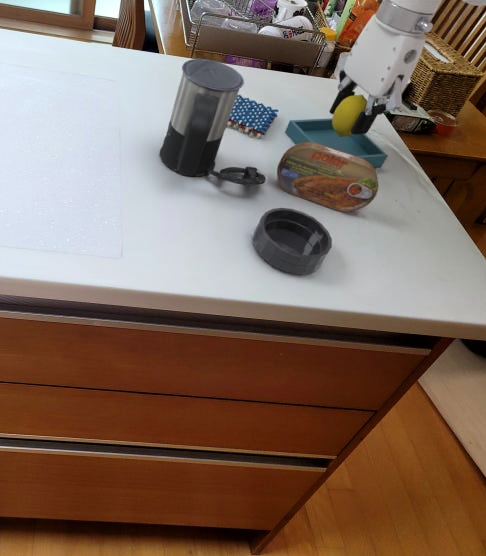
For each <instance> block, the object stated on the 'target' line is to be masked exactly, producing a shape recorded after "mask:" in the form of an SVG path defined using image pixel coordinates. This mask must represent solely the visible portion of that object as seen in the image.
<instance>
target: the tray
mask: <svg viewBox="0 0 486 556" xmlns="http://www.w3.org/2000/svg"><path fill="white" fill-rule="evenodd" d="M332 118H333V117H331V118H329V117H328V118H310V119H291V120H289V121H288V124H287V126H286V128H285V131H284V133H285V134H286V136H287V137H288V138H289V139H290V140H291V141H292V142H293V143H294V145H296V144H299V143H304V142H312V143H316V144H319V145H322V146H325V147H328V148H331V149H334V150H337V151H340V152H343V153H347V154H349V155H353V156H356V157H359V158H361V159H364V160H366V161H367V162H369V163H370V164H371V165H372V166H373V167H374V169H376V168H382V166H383V165H384V163H385V161H386V160H388V157H389V154H387V153H386V151H385V150H383V149H382V148H381V147H380V146H379V145H378V144H377V143H376V142H374V141H373V139H371V138H370V137H369V135H367V133H366V134H356V135H352V136H344V137H339V136H338V133H337V132H336V131H335V130H334V128H333V125H332Z"/></svg>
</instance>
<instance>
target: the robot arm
mask: <svg viewBox="0 0 486 556" xmlns="http://www.w3.org/2000/svg"><path fill="white" fill-rule="evenodd" d="M461 1H462V2H464V3H466V4H468V5H472V6H477V7H480V6H481V7H485V6H486V0H461ZM442 2H443V0H382V1H381V2H380V5H379V7H378V9H377V11H376V13H374V14H372V16H371V17H370V18H369V20H368V21H367V23H366V24H365V26H364V28H363V29H362V30H361V32H360V34H359V35H358V37H357V38H356V41H355V42H354V44H353V46H352V48H351V49H350V52H349V53H348V54H347V55H345V56H343V57H341V58H340V59H339V60H338V70H339V74H338V78H339V83H338V85H337V91H338V93H337V95H336V97H335V99H334V100H333V103H332V104H331V106H330V109H329V114H331V115H333V114H334V112H335V110H336V108H337V107H338V105H339V104H340V103H341V102H342V101H343V100H344V99H345V98H347V97H349V96H352V95H356V92H355V90H356V88H357V87H360V89H362V90H363V91H365V92H366V93H367V94H368V97H367V105H366V109H365V112H361V113H360V115H359V116H358V118H357V120H356V122H355V124H354V126H353V128H352V129H351V133H352V134H353V135H356V134H366V135H367V133H368V132H369V130H371V127H372V126H373V124H374V122H375V120H376V119H377V117H378V116H381V115H383V114H385V113H388V112H391V111H395V110H399V109H401V108H402V106H403V99H402V95H403V94H402V93H403V92H404V90H405V88H406V86H407V85H408V83H409V81H410V79H411V78H412V75H413V73H414V71H415V69H416V67H417V64H418V63H419V60H420V58H421V55H422V53H423V50H424V47H425V43H426V41H427V36H425V35H424V34H425V33H426V34H428V33H430V32H431V31H432V29H433V28H434V24H433V23H432V20H433V18H434V16H435V15H436V12H437V11H438V9H439V7H440V5H441V4H442ZM388 97H389V99H388ZM387 99H388V101H387ZM376 102H377V103H376Z"/></svg>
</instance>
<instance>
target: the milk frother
mask: <svg viewBox="0 0 486 556" xmlns="http://www.w3.org/2000/svg"><path fill="white" fill-rule="evenodd" d="M181 71H182V75H181V78H180V82H179V85H178V88H177V93H176V95H175V99H174V103H173V108H172V111H171V116H170V119H169V122H168V126H167V131H166V134H165V137H164V138H163V139H164V140H163V142H162V145H161V148H160V150H159V158H160V160H161V161H162V163H163V164H164V165H165V166H167V168H169V169H171V170H172V171H174V172H177V173H179V174H181V175H185V176H189V177H200V176H205V175H208V174H210V175H212V176H214V177H216V178H219V179H221V180H224V181H226V182H230V183H233V184H238V185H243V186H262V185H264V184H265V183H266V180H267V177H266V176H265V175H264V174H262V173H260V172H259V171H258V168H257V167H255V166H245V167H239V166H237V167H236V166H229V167H225V168H221V169H220V171H217V170H214V169H215V167H216V159H217V156H218V152H219V149H220V146H221V142H222V140H223V137H224V134H225V131H226V129H227V126H228V120H229V117H230V115H231V112H232V109H233V106H234V103H235V100H236V98H237V95H239V92H240V89H241V88H243V86H244V84H245V80H244V77H243V75H242V74H241V73H240V72H239V71H237V70H236V69H235V68H233V67H231V66H229V65H227V64H225V63H222V62H220V61H216V60H212V59H205V58H193V59H189V60H187V61H185V62H184V63H183V64H182V66H181ZM233 174H242V175H243V176H242V177H238V176H235V175H233Z"/></svg>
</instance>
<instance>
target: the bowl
mask: <svg viewBox="0 0 486 556" xmlns="http://www.w3.org/2000/svg"><path fill="white" fill-rule="evenodd" d="M252 244H253V247H254V250H255V251H256V252H257V254H258V256H260V257H261V258H262V259H263V260H264V261H265V262H266V263H268V264H269V265H270V266H272V267H274V268H275V269H278V270H281V271H283V272H286V273H288V274H289V273H290V274H297V275H305V274H310V273H314V272H315V271H316V270H318V269H319V268H320V267H321V265H322V264H323V262H324V260H325V259H326V257H327V256H328V254H329V252H330V251H331V249H332V246H333V239H332V237H331V235H330V232H329V230H328V229H327V228H326V227H325V226H324V225H323V224H322V223H321V222H320V221H319V220H318V219H316V218H315V217H313V216H311V215H309V214H307V213H305V212H304V211H300V210H297V209H294V208H287V207H276V208H271V209H270V210H267V211H265V212H264V213H263V215H261V217H260V219H259V221H258V224H257V226H256V227H255V230H254V232H253V236H252Z"/></svg>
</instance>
